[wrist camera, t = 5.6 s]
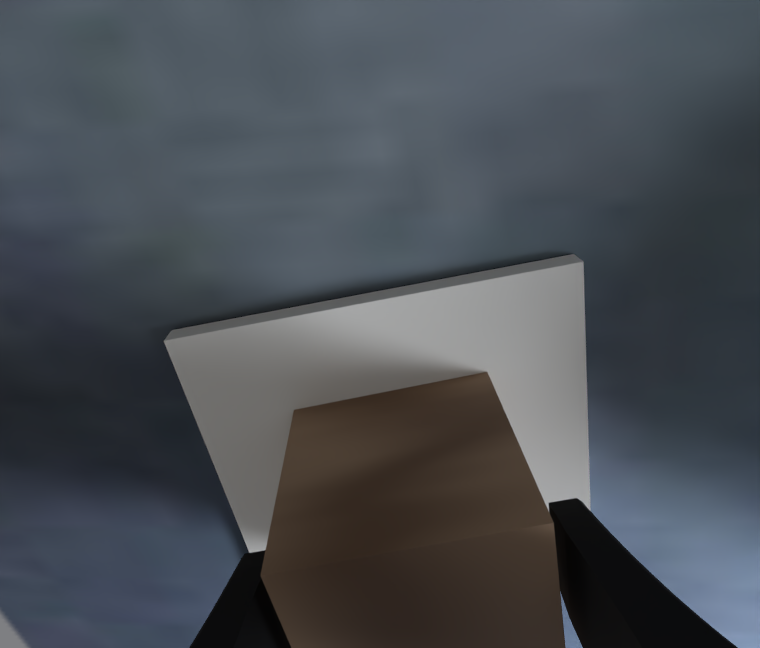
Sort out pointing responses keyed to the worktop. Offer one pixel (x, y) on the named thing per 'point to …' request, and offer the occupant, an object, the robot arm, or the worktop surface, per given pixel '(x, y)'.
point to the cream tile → (394, 371)
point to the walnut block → (412, 526)
